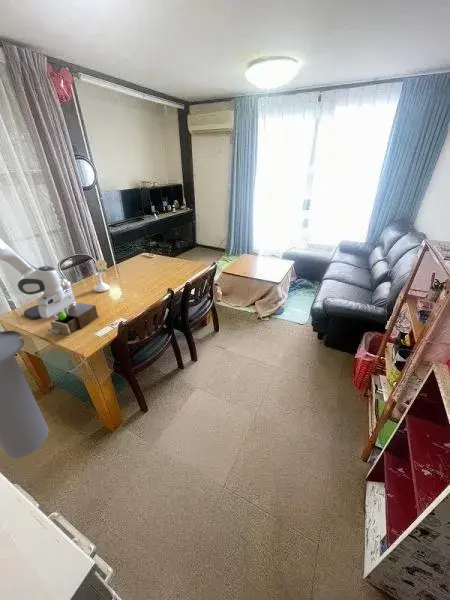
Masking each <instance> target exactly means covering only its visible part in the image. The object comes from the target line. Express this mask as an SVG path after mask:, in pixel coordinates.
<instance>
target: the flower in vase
mask: <svg viewBox="0 0 450 600" xmlns="http://www.w3.org/2000/svg"><path fill="white" fill-rule="evenodd" d="M107 265H108V263H107V262H106V260H104V259H101V258H100V259H97V260H96V261H95V263H94V267H95V268H96V269H97V272H96V273H94V275H95V276H96V278H97V280H98V282H97V283H96V285H95V286H94V287H93V291H95V292H96V293H97V292H98V293H101V292H106V291H108V290H110V285H109V284H107V283H105V282H103V281H102V274H103V273H105V272H107V271H108V269H106V268H107ZM101 271H102V272H103V273H102V272H101Z"/></svg>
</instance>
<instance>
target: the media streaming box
mask: <svg viewBox="0 0 450 600" xmlns="http://www.w3.org/2000/svg"><path fill="white" fill-rule="evenodd" d="M38 306H39V304H36V305H33V306H30V307H29V308H27V309H25V310H24V311H23V314H24V317H26V318H29V319H31V320H38V319H42V317H41V316H40V313H39V310H38Z"/></svg>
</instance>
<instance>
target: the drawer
mask: <svg viewBox="0 0 450 600" xmlns="http://www.w3.org/2000/svg"><path fill="white" fill-rule="evenodd" d="M49 323H50V326H51V328H48V329H47V332H49V333H53V334H63V335H67V336H70V335H72V332H74V331H75V330H77V329H78V327H79V324H78V320H77V318H75V317H70V316H66V318H65V319H64V320H59V319H58V320H55V319H54V320H50V321H49Z"/></svg>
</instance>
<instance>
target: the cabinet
mask: <svg viewBox="0 0 450 600" xmlns="http://www.w3.org/2000/svg"><path fill="white" fill-rule="evenodd" d="M67 316H70V317H75V318H77V320H78V324H79V327H78V328H77V329H79V330H82V329H83V328H85V327H86V326H88V325H89V324H91V323H92V322H93V321H95V320H96V319H97V318H99V315H98V310H97V307H96V305H95V304H89V303H84V302H76V305H74V306H72V307H70V308H69V309H68V314H67Z"/></svg>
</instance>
